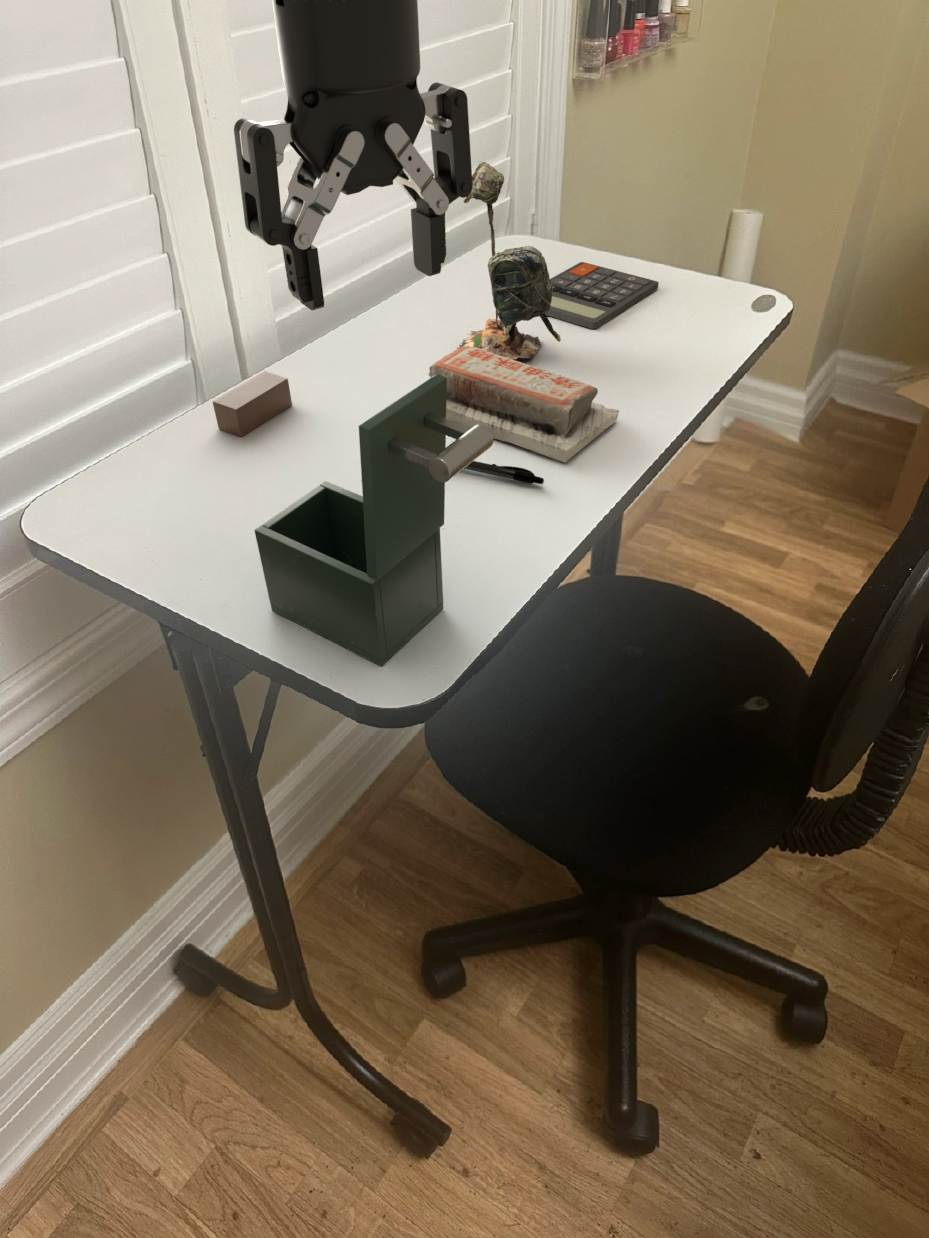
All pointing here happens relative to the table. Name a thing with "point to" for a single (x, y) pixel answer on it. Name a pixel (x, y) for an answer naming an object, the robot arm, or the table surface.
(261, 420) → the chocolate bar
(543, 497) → the table surface
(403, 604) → the green storage bin
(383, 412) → the bin lid
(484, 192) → the plant with pod
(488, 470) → the pen
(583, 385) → the packaged product
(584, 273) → the calculator
